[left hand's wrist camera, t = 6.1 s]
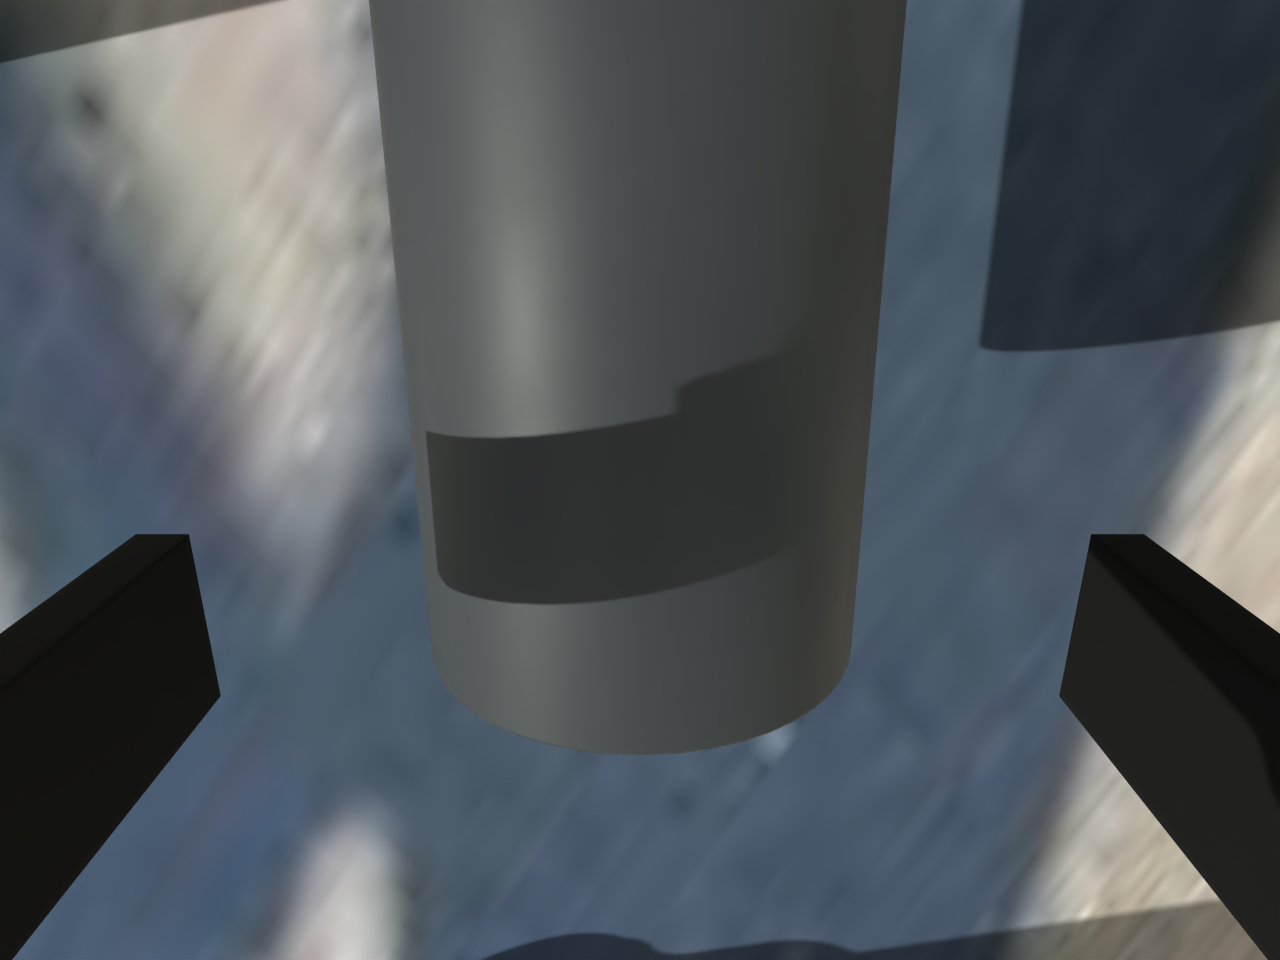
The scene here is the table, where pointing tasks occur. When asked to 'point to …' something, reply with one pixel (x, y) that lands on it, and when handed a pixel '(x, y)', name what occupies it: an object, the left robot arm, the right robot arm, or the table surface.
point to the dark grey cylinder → (639, 349)
